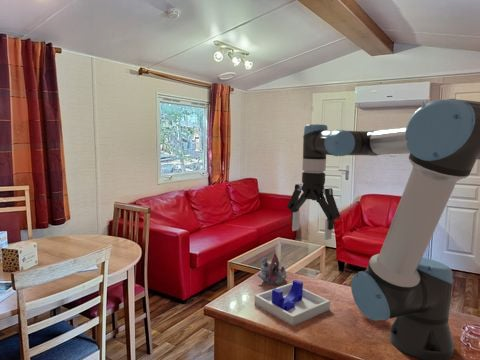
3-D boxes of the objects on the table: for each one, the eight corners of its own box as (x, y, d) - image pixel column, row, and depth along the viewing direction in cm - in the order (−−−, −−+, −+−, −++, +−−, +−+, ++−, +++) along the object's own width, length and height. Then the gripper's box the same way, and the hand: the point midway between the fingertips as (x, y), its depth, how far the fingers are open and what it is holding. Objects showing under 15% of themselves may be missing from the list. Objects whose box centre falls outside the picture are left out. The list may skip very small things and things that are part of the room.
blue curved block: (282, 313, 108) (283, 294, 108) (271, 307, 112) (272, 289, 111) (305, 301, 117) (306, 283, 116) (294, 296, 120) (295, 279, 119)
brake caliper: (287, 283, 127) (268, 254, 128) (263, 296, 131) (245, 268, 133) (294, 272, 137) (277, 246, 139) (272, 284, 141) (256, 259, 143)
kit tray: (329, 309, 113) (330, 300, 112) (292, 326, 102) (292, 316, 102) (291, 290, 126) (291, 282, 126) (254, 303, 116) (254, 295, 115)
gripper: (353, 174, 110) (349, 241, 112) (292, 168, 128) (290, 225, 131) (339, 175, 105) (336, 245, 107) (278, 169, 124) (276, 228, 126)
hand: (311, 234), depth 119 cm, fingers open, 13 cm apart
